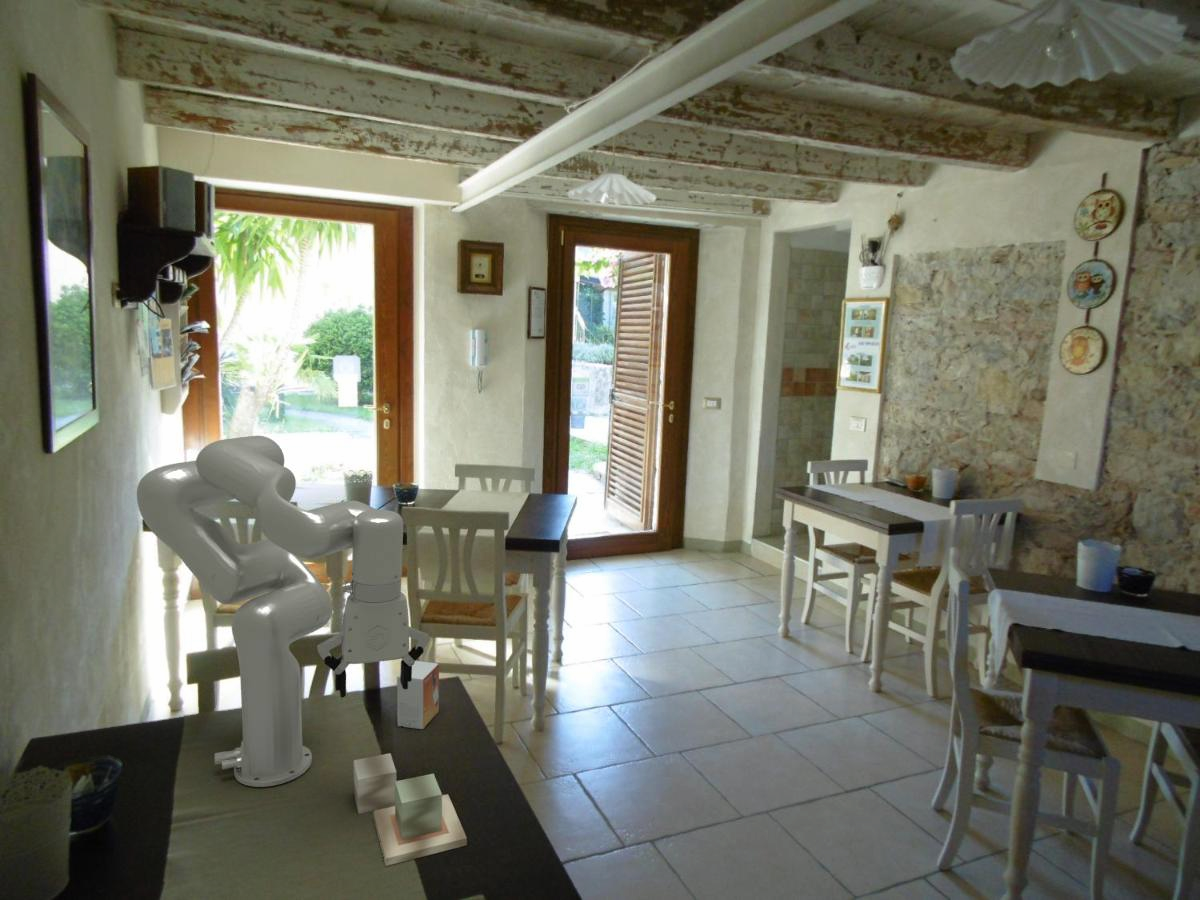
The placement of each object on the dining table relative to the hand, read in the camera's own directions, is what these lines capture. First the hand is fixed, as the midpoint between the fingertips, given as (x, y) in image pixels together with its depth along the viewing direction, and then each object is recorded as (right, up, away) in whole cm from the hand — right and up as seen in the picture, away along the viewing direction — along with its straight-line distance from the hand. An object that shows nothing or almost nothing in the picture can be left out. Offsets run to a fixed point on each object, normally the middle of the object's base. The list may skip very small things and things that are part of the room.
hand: (373, 689), depth 121 cm
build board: (+8, -21, -5) cm, 23 cm away
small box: (0, -16, +30) cm, 34 cm away
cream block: (-1, -19, +3) cm, 20 cm away
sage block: (+8, -19, -5) cm, 22 cm away
